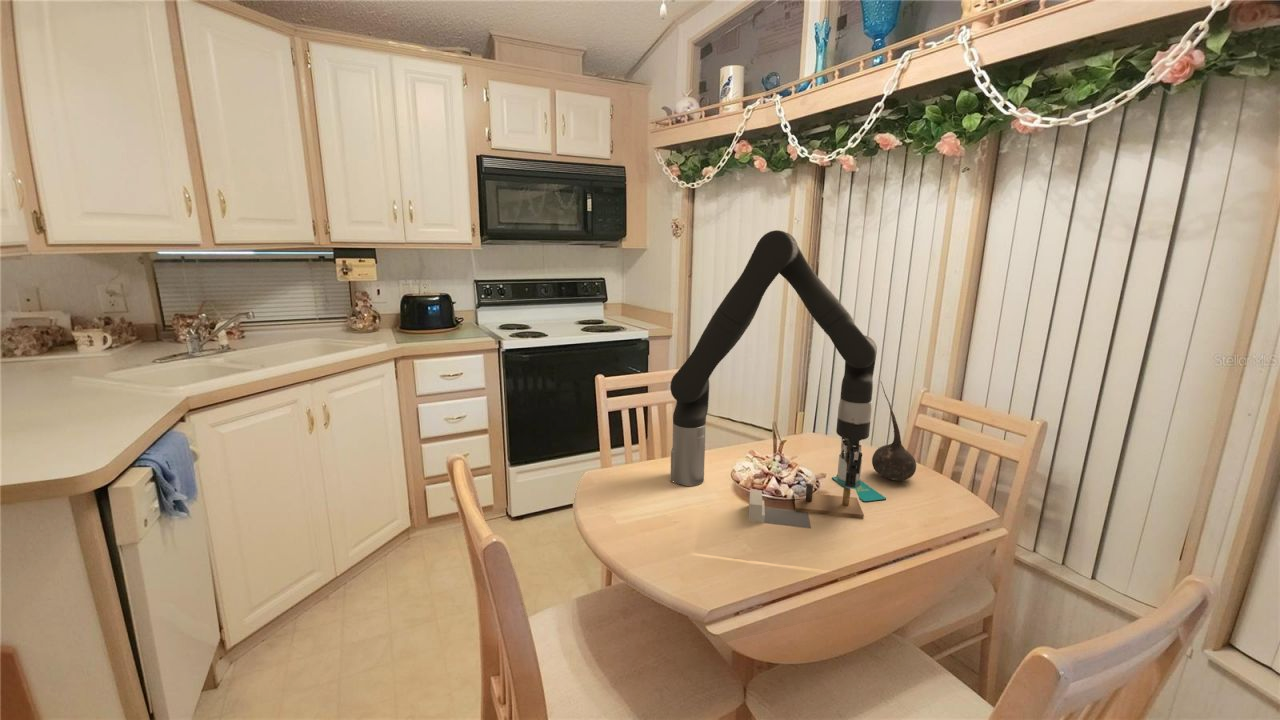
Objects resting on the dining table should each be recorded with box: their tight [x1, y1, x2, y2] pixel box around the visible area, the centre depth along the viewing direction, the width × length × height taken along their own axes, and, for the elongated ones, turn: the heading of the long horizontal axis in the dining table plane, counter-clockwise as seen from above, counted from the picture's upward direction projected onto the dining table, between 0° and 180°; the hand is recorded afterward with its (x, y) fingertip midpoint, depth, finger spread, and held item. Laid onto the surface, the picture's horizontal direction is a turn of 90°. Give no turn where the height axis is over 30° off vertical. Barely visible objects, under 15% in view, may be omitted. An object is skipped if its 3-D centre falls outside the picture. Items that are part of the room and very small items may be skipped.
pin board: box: [793, 482, 865, 519], centre depth 130 cm, size 16×9×6 cm, turn 77°
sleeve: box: [835, 454, 863, 488], centre depth 127 cm, size 5×5×7 cm
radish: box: [871, 380, 917, 482], centre depth 145 cm, size 11×14×30 cm
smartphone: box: [831, 476, 887, 503], centre depth 141 cm, size 7×1×15 cm
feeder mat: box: [748, 488, 812, 529], centre depth 125 cm, size 14×8×5 cm, turn 77°
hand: (847, 480), depth 128 cm, fingers closed on sleeve, 5 cm apart
